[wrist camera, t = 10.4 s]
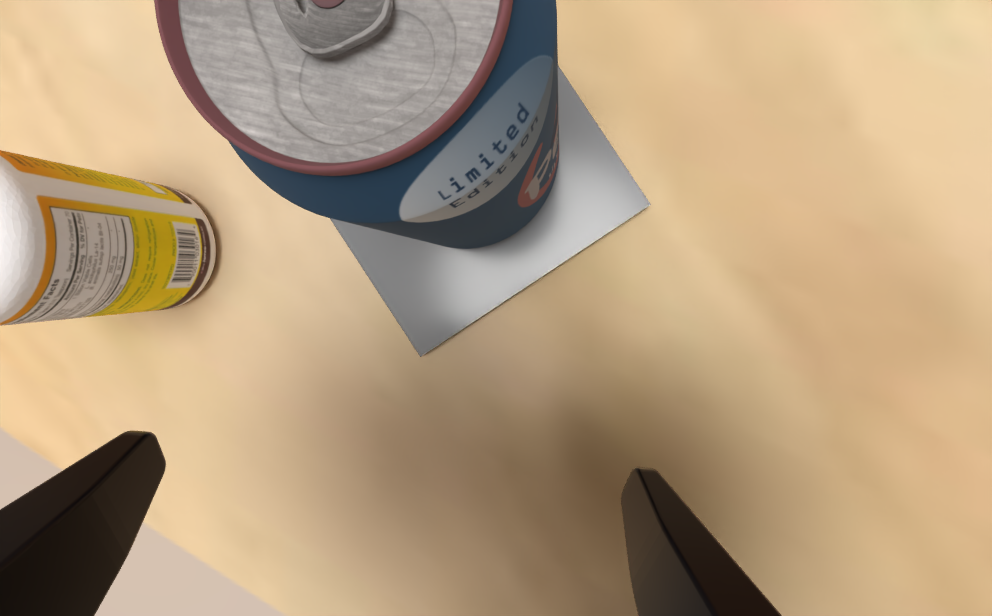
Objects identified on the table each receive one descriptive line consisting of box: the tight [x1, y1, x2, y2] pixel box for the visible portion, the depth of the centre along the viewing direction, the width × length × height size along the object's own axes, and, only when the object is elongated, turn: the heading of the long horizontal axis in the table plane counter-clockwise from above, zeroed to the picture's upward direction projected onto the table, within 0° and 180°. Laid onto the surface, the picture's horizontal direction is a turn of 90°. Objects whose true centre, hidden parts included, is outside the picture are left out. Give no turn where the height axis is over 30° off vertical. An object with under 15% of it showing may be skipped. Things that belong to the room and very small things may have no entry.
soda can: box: [154, 0, 559, 249], centre depth 13 cm, size 7×7×12 cm
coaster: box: [330, 66, 651, 357], centre depth 19 cm, size 11×11×1 cm
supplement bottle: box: [0, 150, 216, 325], centre depth 17 cm, size 6×6×10 cm
